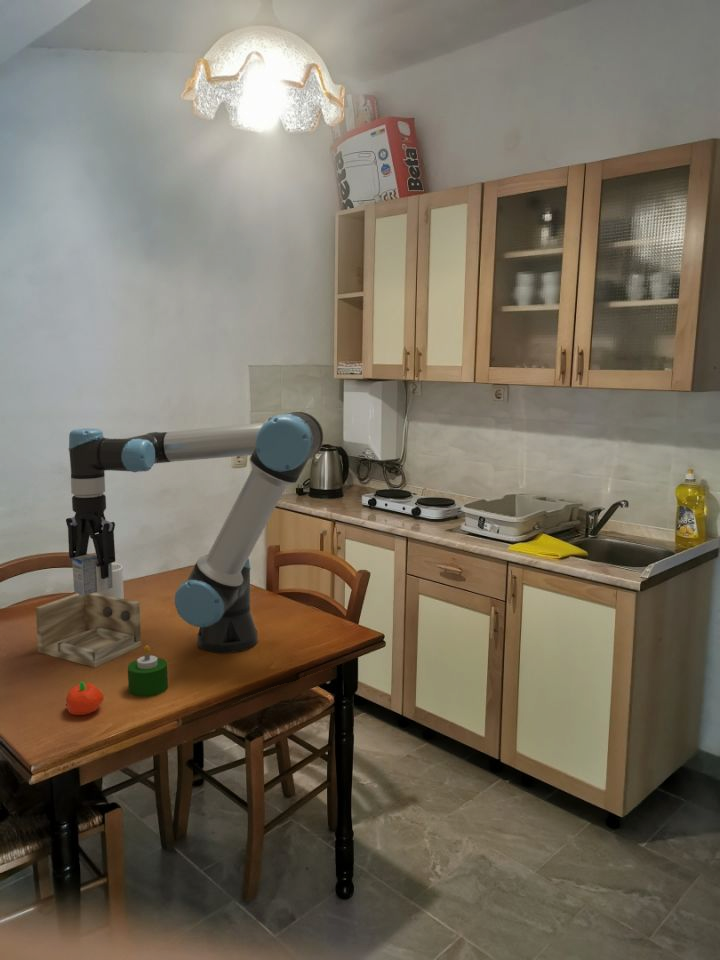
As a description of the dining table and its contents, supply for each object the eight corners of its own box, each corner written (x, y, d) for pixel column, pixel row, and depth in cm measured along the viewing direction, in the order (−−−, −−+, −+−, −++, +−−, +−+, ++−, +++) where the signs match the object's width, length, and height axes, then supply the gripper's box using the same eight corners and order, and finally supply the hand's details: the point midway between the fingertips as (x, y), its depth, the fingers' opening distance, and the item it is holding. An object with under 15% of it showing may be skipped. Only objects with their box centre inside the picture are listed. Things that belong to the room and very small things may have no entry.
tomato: (74, 725, 147) (68, 696, 145) (63, 710, 153) (58, 682, 152) (110, 711, 151) (104, 683, 149) (98, 697, 157) (93, 669, 156)
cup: (114, 630, 196) (112, 572, 194) (86, 628, 198) (83, 570, 195) (130, 620, 204) (128, 564, 202) (103, 617, 206) (100, 562, 203)
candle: (175, 688, 163) (174, 645, 161) (142, 700, 157) (140, 656, 155) (154, 677, 168) (152, 635, 167) (121, 689, 162) (119, 645, 161)
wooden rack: (141, 646, 186) (139, 602, 184) (95, 667, 173) (93, 620, 171) (86, 632, 195) (83, 590, 193) (38, 652, 181) (35, 607, 180)
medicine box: (102, 585, 183) (101, 550, 182) (113, 588, 180) (111, 553, 179) (73, 592, 177) (71, 557, 175) (84, 596, 174) (81, 560, 173)
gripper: (129, 495, 174) (133, 590, 178) (73, 488, 182) (78, 579, 186) (105, 500, 167) (110, 599, 171) (48, 493, 175) (54, 588, 179)
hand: (93, 589), depth 178 cm, fingers closed on medicine box, 5 cm apart
